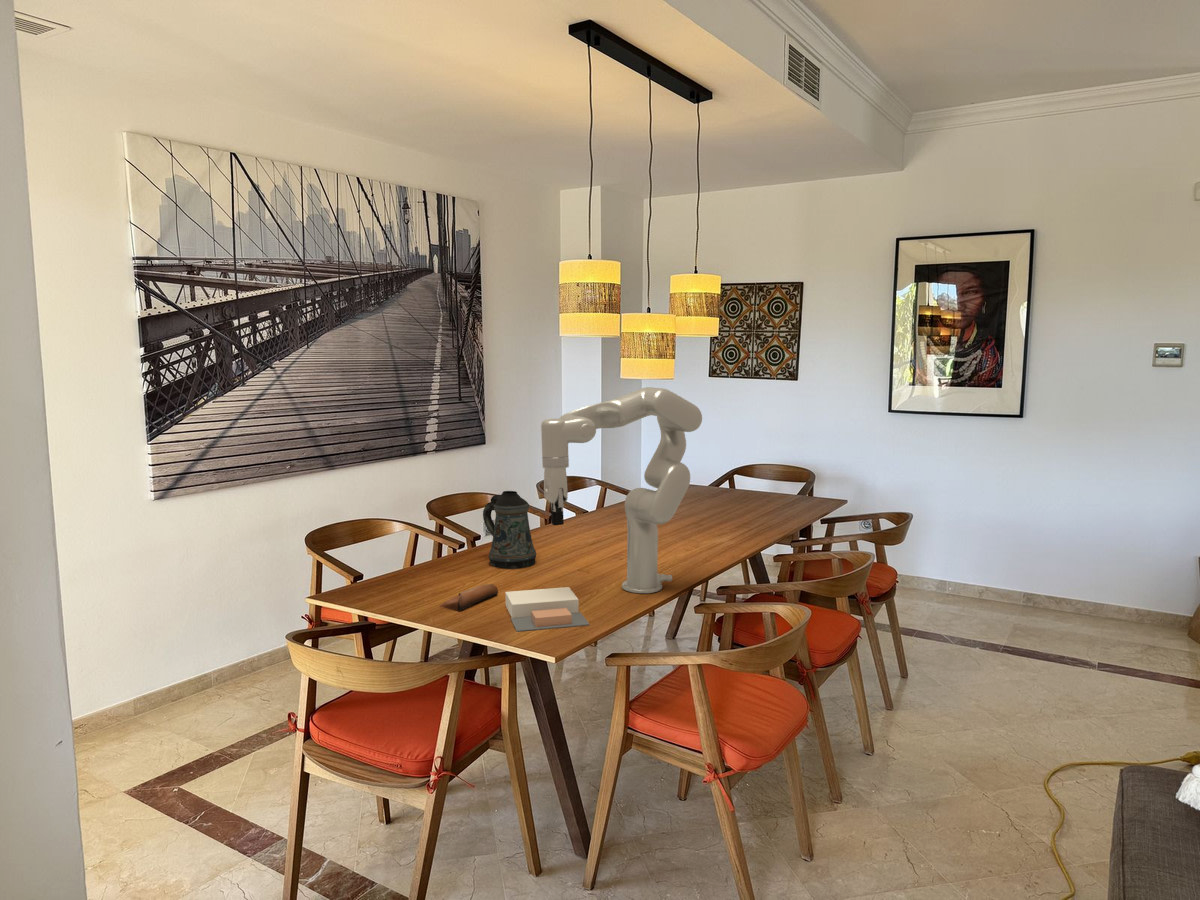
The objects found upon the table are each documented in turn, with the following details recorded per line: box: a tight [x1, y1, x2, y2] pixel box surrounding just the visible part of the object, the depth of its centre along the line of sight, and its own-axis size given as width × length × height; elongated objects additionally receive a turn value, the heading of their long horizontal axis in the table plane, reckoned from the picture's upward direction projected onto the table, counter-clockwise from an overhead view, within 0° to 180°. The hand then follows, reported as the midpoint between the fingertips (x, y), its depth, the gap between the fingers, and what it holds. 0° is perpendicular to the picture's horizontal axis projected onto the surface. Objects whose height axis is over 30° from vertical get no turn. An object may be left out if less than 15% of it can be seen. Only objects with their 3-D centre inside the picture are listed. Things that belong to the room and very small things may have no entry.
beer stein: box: [482, 490, 537, 570], centre depth 281 cm, size 16×19×25 cm
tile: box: [531, 608, 572, 627], centre depth 222 cm, size 10×6×2 cm, turn 106°
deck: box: [505, 586, 580, 618], centre depth 234 cm, size 19×12×4 cm, turn 105°
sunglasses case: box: [439, 583, 499, 612], centre depth 240 cm, size 18×7×7 cm
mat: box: [510, 611, 591, 633], centre depth 223 cm, size 20×10×1 cm, turn 105°
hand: (557, 524), depth 235 cm, fingers closed
